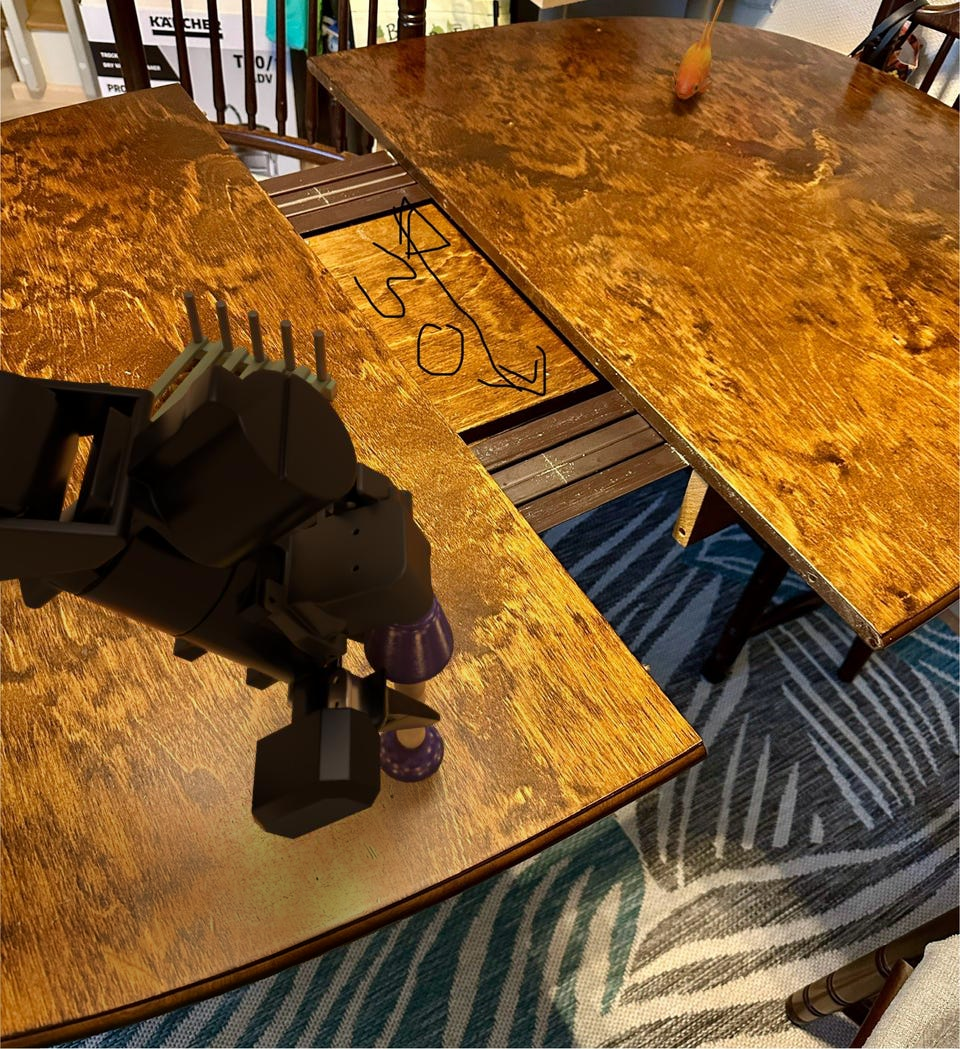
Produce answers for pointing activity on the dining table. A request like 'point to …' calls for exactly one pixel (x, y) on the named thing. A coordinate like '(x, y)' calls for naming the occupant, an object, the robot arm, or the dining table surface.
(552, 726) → the dining table surface
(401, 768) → the toy lamp
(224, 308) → the rack
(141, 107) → the dining table surface
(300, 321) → the dining table surface
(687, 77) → the fish
